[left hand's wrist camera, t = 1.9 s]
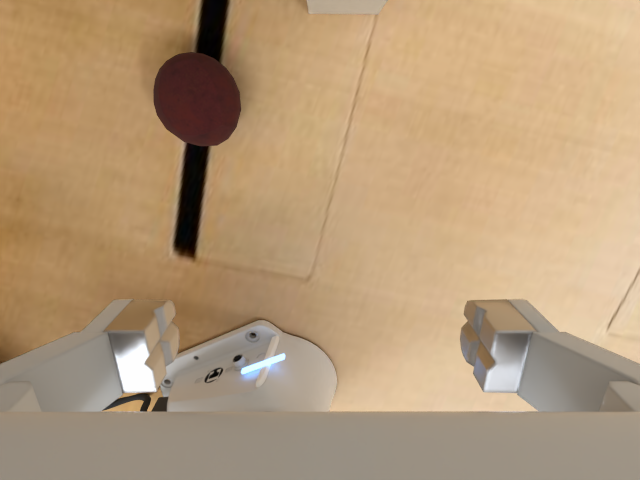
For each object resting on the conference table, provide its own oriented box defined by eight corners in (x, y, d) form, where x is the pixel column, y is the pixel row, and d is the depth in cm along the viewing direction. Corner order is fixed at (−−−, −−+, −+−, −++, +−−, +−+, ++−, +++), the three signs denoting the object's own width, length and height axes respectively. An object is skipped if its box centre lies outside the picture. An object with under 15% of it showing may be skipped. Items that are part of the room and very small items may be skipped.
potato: (231, 46, 34) (209, 34, 27) (259, 131, 36) (245, 139, 30) (157, 70, 34) (118, 64, 28) (189, 152, 37) (161, 163, 31)
